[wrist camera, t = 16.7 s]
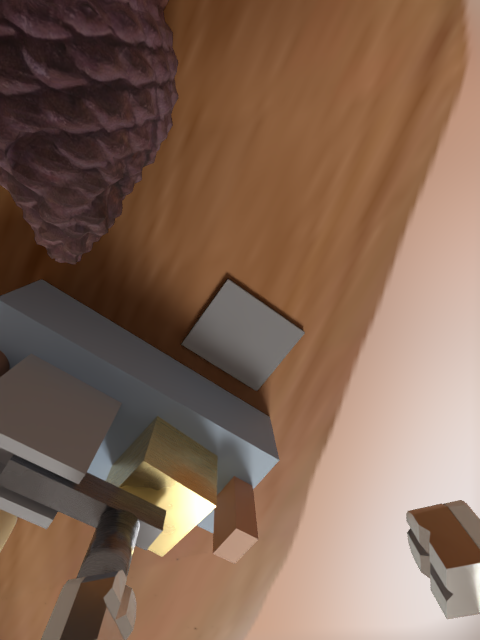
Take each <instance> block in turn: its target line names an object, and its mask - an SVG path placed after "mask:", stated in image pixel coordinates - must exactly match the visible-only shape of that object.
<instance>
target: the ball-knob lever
mask: <svg viewBox="0 0 480 640" xmlns="http://www.w3.org/2000/svg"><path fill="white" fill-rule="evenodd" d="M0 486H3V487H5V488H7V489H9V490H12V491H14V492H16V493H18V494H21V495H23V496H25V497H27V498H30V499H32V500H34V501H36V502H39V503H41V504H43V505H45V506H48V507H50V508H52V509H54V510H57V511H59V512H61V513H63V514H66V515H68V516H70V517H72V518H75V519H77V520H79V521H81V522H84V523H86V524H88V525H90V526H93V527H95V528H96V530H95V533H94V535H93V538H92V540H91V543H90V545H89V548H88V550H87V553H86V555H85V558H84V560H83V563H82V565H81V568H80V571H79V573H78V576H77V578H81V577H86V576H93V575H98V574H104V573H109V572H115V571H120V570H123V571H124V573H125V575H126V577H127V575H128V571H129V567H130V563H131V559H132V555H133V552H134V548H135V546H137V547H140V548H142V549H144V550H147V549H148V548H149V547H150V545H151V544H152V543H153V542H154V541H155V539H156V538H157V537H158V536H159V535H160V534H161V532H162V531H163V527H164V521H165V516H166V511H167V510H164V509H162V508H160V507H158V506H156V505H154V504H152V503H150V502H148V501H146V500H144V499H142V498H140V497H138V496H136V495H133V494H131V493H129V492H127V491H125V490H123V489H121V488H119V487H117V486H115V485H113V484H111V483H109V482H107V481H104V480H102V479H100V478H98V477H96V476H94V475H92V474H90V473H88V472H87V473H86V474H85V476H84V477H83V479H82V480H81V481H80V483H79V484H77V483H75V482H72V481H70V480H68V479H66V478H64V477H62V476H60V475H58V474H55V473H53V472H51V471H49V470H47V469H45V468H43V467H41V466H38V465H36V464H34V463H32V462H30V461H28V460H26V459H24V458H21V457H19V456H17V455H15V454H14V455H13V456H12V458H11V459H10V460H9V462H8V463H7V465H6V467H5V468H4V470H3V471H2V473H1V475H0Z"/></svg>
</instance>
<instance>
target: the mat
mask: <svg viewBox="0 0 480 640" xmlns="http://www.w3.org/2000/svg"><path fill="white" fill-rule="evenodd" d="M304 333H305V332H304V331H303V330H302V329H300V328H299V327H297V326H296V325H294V324H293V323H291V322H290V321H289V320H287V319H286V318H284V317H283V316H281V315H280V314H279V313H277V312H276V311H274V310H273V309H271V308H270V307H269V306H267V305H266V304H264V303H263V302H261V301H260V300H258V299H257V298H256V297H254V296H253V295H251V294H250V293H248V292H247V291H246V290H244V289H243V288H241V287H240V286H238V285H237V284H235V283H234V282H233V281H231V280H230V279H227V280H226V282H225V283H224V285H223V286H222V287H221V289H220V290H219V292H218V293H217V294H216V296H215V297H214V299H213V300H212V301H211V303H210V304H209V306H208V307H207V308H206V310H205V311H204V313H203V314H202V315H201V317H200V318H199V320H198V321H197V322H196V324H195V325H194V327H193V328H192V329H191V331H190V332H189V334H188V335H187V336H186V338H185V339H184V341H183V342H182V344H181V345H183V346H184V347H186V348H188V349H189V350H191V351H193V352H194V353H196V354H197V355H199V356H201V357H202V358H204V359H205V360H207V361H209V362H210V363H212V364H214V365H215V366H217V367H218V368H220V369H222V370H223V371H225V372H226V373H228V374H230V375H231V376H233V377H235V378H236V379H238V380H239V381H241V382H243V383H244V384H246V385H247V386H249V387H251V388H252V389H254V390H256V391H258V389H259V388H260V387H261V386H262V384H263V383H264V382H265V381H266V380H267V378H268V377H269V376H270V375H271V373H272V372H273V371H274V370H275V369H276V367H277V366H278V365H279V364H280V363H281V361H282V360H283V359H284V358H285V356H286V355H287V354H288V353H289V352H290V350H291V349H292V348H293V347H294V345H295V344H296V343H297V342H298V341H299V339H300V338H301V337H302V336H303V334H304Z"/></svg>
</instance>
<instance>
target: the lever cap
mask: <svg viewBox="0 0 480 640" xmlns="http://www.w3.org/2000/svg"><path fill="white" fill-rule="evenodd" d="M217 462H218V456H217V455H215V454H214V453H212V452H211V451H209V450H208V449H206V448H205V447H203V446H202V445H200V444H199V443H197V442H196V441H194V440H193V439H191V438H190V437H188V436H187V435H185V434H184V433H182V432H181V431H179V430H178V429H176V428H175V427H173V426H172V425H170V424H169V423H167V422H166V421H164V420H163V419H161V418H160V417H159V416H157V417H156V418H155V419H154V420H153V421H152V423H151V424H150V425H149V426H148V427H147V428H146V429H145V430H144V431H143V432H142V433H141V435H140V436H139V437H138V438H137V439H136V440H135V441H134V442H133V443H132V444H131V445H130V446H129V448H128V449H127V450H126V451H125V452H124V453H123V454H122V455H121V456H120V457H119V458H118V460H117V461H116V462H115V463H114V464H113V465H112V467H111V469H110V472H109V474H108V476H107V479H106V481H107V482H109V483H111V484H113V485H115V486H117V487H119V488H121V489H123V490H125V491H127V492H129V493H131V494H133V495H136V496H138V497H140V498H142V499H144V500H146V501H148V502H150V503H152V504H154V505H156V506H158V507H160V508H162V509H164V510H167V511H166V516H165V521H164V527H163V531H162V532H161V534H160V535H159V536H158V537H157V538H156V539H155V541H154V542H153V543H152V544H151V545H150V547H149V548H148V549H149V550H150V551H152V552H154V553H156V554H158V555H160V556H161V557H163V556H164V555H165V554H166V553H167V552H168V551H169V550H170V549H171V548H172V547H173V546H174V545H176V544H177V543H178V542H179V541H180V540H181V539H182V538H183V537H184V536H185V535H186V534H187V533H188V532H189V531H191V530H192V529H193V528H194V527H195V526H196V525H197V524H198V523H199V522H200V521H201V520H202V519H203V518H204V517H205V516H207V515H208V514H209V513H210V512H211V511H212V510H213V509H214V508H215V507H216V505H217Z"/></svg>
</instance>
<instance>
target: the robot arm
mask: <svg viewBox="0 0 480 640" xmlns="http://www.w3.org/2000/svg"><path fill="white" fill-rule="evenodd" d="M406 516H407V517H406V518H407V522H408V524H409V526H410V530H409V531H408V532H407V534H408V542H409V546H410V549H411V552H412V555H413V557H414V559H415V561H416V563H417V565H418V567H419V569H420V571H421V572H422V573H423V574H425V575H426V576H427V577H429V578H430V582H431V591H432V593H433V595H434V597H435V598H436V600H437V602H438V604H439V606H440V608H441V609H442V611H443V613H444V614H445V617H446V618H447V619H451V618H457V617H464V616H470V615H476V614H480V519H479V518H478V517H477V516H476V514H475V513H474V512H473V511H472V509H471V508H470V507H469V506H468V505H467V503H465V502H464V501H462V500H459V501H455V502H450V503H446V504H437V505H433V506H428V507H424V508H420V509H415V510H411V511H408V512H407V514H406ZM126 580H127V577H126V575H125V573H124V571H123V570H120V571H115V572H109V573H104V574H98V575H93V576H86V577H81V578H76V579H71V580H68V581H67V582H66V584H65V585H64V586H63V588H62V590H61V593H60V595H59V598H58V600H57V602H56V605H55V607H54V609H53V612H52V614H51V617H50V619H49V621H48V624H47V626H46V629H45V631H44V633H43V636H42V638H41V640H127V638H128V637H129V635H130V634H131V632H132V631H133V629H134V623H135V618H136V599H135V594H134V592H133V590H132V588H130V587H128V586H127V585H125V584H126Z"/></svg>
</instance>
